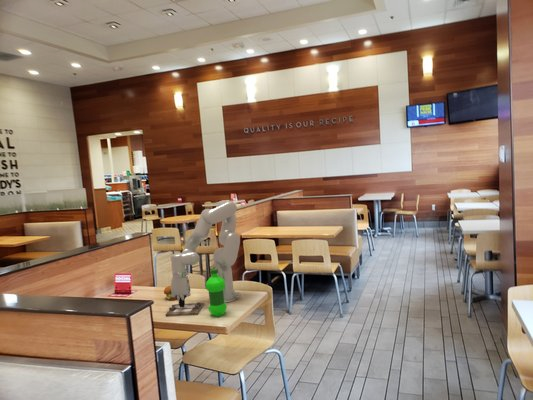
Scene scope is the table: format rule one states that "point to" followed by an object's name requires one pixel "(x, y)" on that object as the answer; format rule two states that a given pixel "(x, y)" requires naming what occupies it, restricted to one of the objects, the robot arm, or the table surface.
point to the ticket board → (185, 310)
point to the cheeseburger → (169, 293)
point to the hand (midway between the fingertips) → (182, 306)
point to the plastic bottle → (216, 293)
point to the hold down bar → (184, 306)
